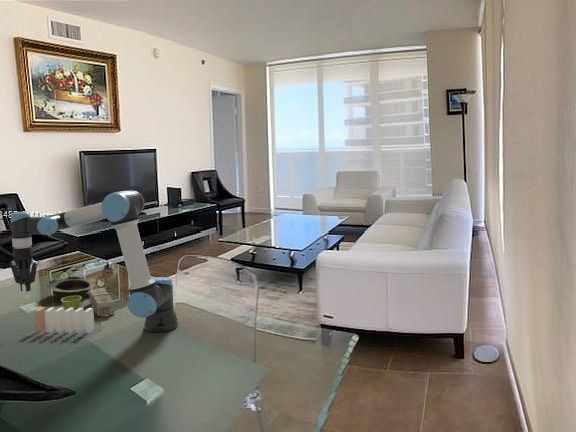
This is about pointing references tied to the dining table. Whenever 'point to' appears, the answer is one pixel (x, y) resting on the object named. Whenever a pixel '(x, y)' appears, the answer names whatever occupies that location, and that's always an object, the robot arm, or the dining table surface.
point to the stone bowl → (70, 287)
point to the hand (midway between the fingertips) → (26, 298)
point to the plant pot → (71, 302)
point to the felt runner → (64, 333)
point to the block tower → (101, 302)
